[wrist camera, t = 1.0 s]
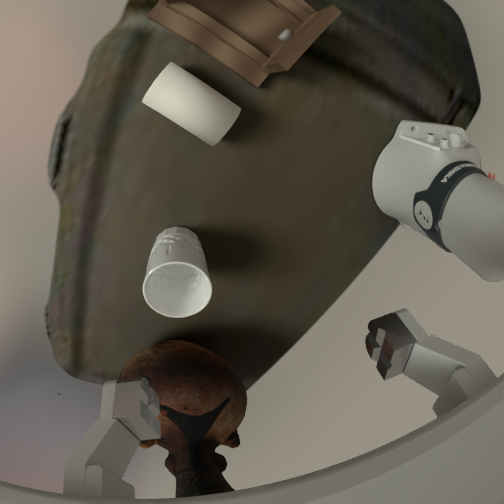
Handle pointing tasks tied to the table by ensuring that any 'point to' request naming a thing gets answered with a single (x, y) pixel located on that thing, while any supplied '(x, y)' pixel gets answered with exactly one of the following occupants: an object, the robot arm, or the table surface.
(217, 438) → the ceramic vessel
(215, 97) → the paper roll
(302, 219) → the table surface
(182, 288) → the white cup
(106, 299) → the table surface
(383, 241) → the table surface
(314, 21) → the roll holder
